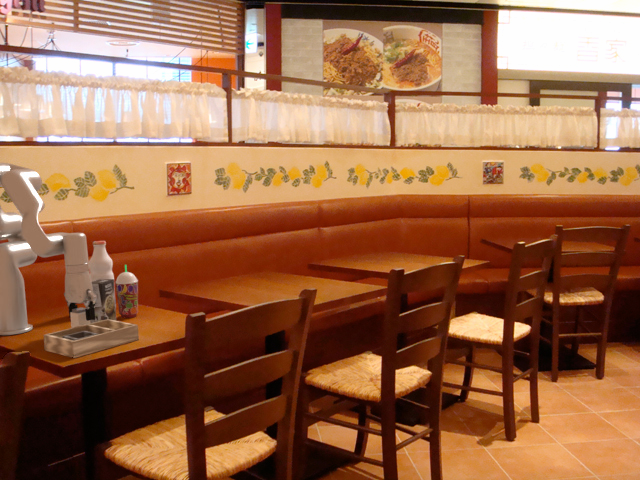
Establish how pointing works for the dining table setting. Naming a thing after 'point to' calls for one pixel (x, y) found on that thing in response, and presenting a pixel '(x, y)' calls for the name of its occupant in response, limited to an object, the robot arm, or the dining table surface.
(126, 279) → the smoothie
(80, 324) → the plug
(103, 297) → the coffee box
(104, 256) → the white milk bottle
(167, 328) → the dining table surface
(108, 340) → the caddy
